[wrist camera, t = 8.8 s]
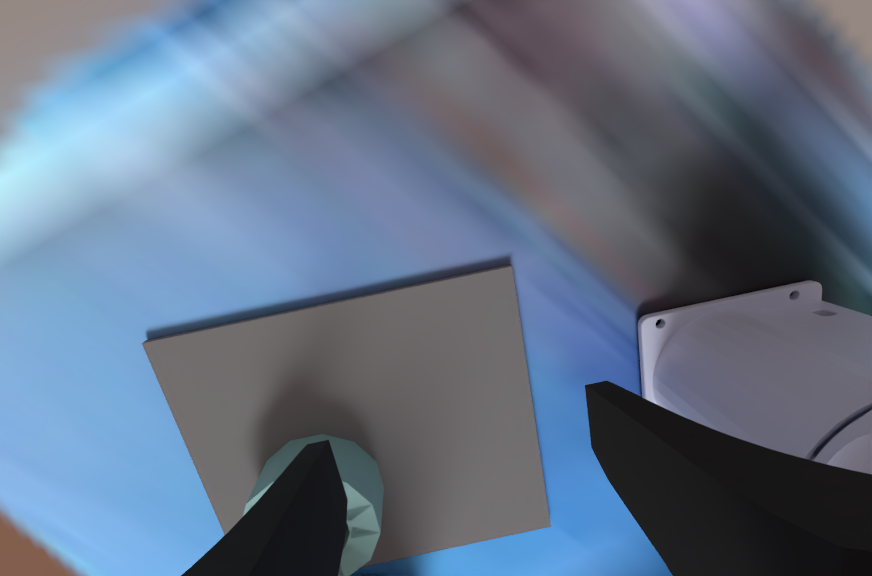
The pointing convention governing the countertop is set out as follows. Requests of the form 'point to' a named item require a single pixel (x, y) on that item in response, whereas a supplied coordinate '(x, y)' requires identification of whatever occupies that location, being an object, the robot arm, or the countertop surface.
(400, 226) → the countertop surface
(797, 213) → the countertop surface
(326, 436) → the bead
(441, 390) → the mat
